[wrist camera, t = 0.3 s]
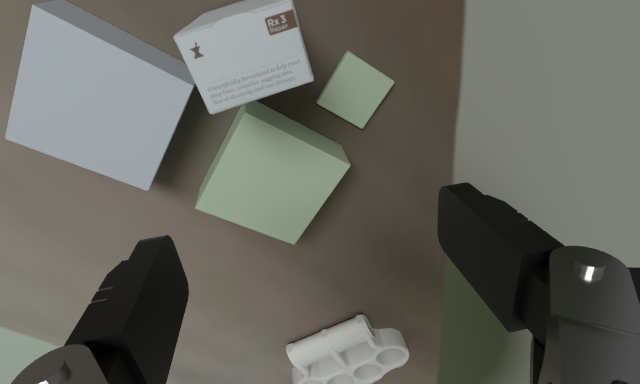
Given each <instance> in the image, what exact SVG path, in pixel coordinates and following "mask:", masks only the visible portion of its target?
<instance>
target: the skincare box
mask: <svg viewBox="0 0 640 384" xmlns="http://www.w3.org/2000/svg"><path fill="white" fill-rule="evenodd" d="M173 38H174V40H175V42H176V44H177V46H178V48H179V50H180V52H181V54H182V56H183V58H184V61H185V63H186V65H187V67H188V69H189V71H190V73H191V75H192V77H193V79H194V82H195V84H196V86H197V88H198V90H199V92H200V94H201V96H202V98H203V101H204V103H205V105H206V107H207V110H208V112H209V113H210V114H211V115H213V114H216V113H219V112H222V111H225V110H228V109H231V108H234V107H237V106H240V105H243V104H246V103H249V102H252V101H255V100H258V99H261V98H264V97H267V96H270V95H273V94H276V93H279V92H282V91H285V90H288V89H291V88H294V87H297V86H300V85H303V84H306V83H309V82H313V81H314V77H313V73H312V69H311V66H310V62H309V59H308V55H307V51H306V48H305V44H304V41H303V37H302V33H301V29H300V25H299V22H298V18H297V14H296V10H295V7H294V3H293V1H292V0H244V1H241V2H237V3H234V4H231V5H228V6H225V7H222V8H219V9H216V10H213V11H210V12H207V13H204V14H202V15H201V16H200V17H198V18H197V19H196V20H194V21H193V22H192V23H191V24H189V25H188V26H186V27H185V28H183V29H182V30H181V31H179V32H178V33H177V34H176V35H174V37H173Z"/></svg>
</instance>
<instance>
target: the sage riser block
mask: <svg viewBox="0 0 640 384" xmlns="http://www.w3.org/2000/svg"><path fill="white" fill-rule="evenodd" d="M350 166H351V165H350V163H349V160H348V158H347V156H346V154H345V152H344V149H343V147H342V145H340V144H338V143H336V142H334V141H332V140H330V139H328V138H326V137H324V136H322V135H321V134H319V133H317V132H315V131H313V130H311V129H309V128H307V127H305V126H303V125H302V124H300V123H298V122H296V121H294V120H292V119H290V118H288V117H286V116H284V115H282V114H281V113H279V112H277V111H275V110H273V109H271V108H269V107H267V106H265V105H263V104H262V103H260V102H258V101H256V100H255V101H252V102H249V103H246V104H243V105H242V106H241V108H240V109H239V111H238V113H237V115H236V117H235V119H234V121H233V123H232V125H231V127H230V129H229V131H228V133H227V135H226V137H225V139H224V141H223V143H222V145H221V147H220V149H219V151H218V153H217V155H216V157H215V159H214V160H213V162H212V164H211V166H210V168H209V170H208V172H207V174H206V176H205V178H204V180H203V182H202V184H201V187H200V191H199V195H198V199H197V202H196V206H195V209H198V210H201V211H203V212H206V213H209V214H212V215H214V216H217V217H220V218H222V219H225V220H228V221H231V222H233V223H236V224H239V225H241V226H244V227H247V228H250V229H252V230H255V231H258V232H261V233H263V234H266V235H269V236H271V237H274V238H277V239H280V240H282V241H285V242H288V243H290V244H293V245H294V244H295V243H296V242H297V240H298V239H299V237H300V236H301V235H302V233H303V232H304V230H305V229H306V228H307V226H308V225H309V223H310V222H311V221H312V219H313V218H314V216H315V215H316V213H317V212H318V211H319V209H320V208H321V206H322V205H323V204H324V202H325V201H326V199H327V198H328V197H329V195H330V194H331V192H332V191H333V190H334V188H335V187H336V185H337V184H338V183H339V181H340V180H341V178H342V177H343V176H344V174H345V173H346V171H347V170H348V168H349V167H350Z"/></svg>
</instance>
